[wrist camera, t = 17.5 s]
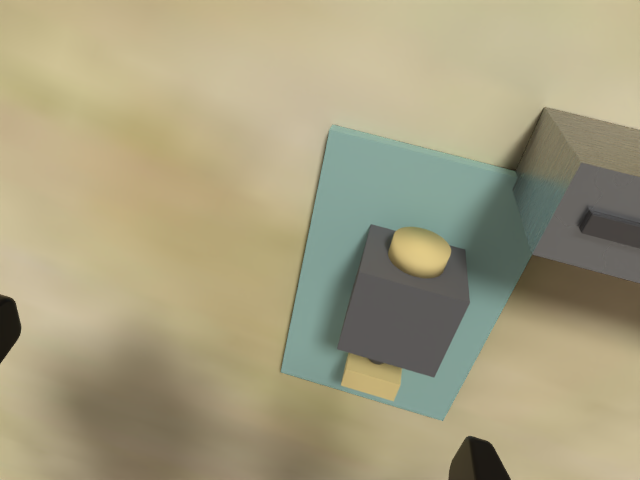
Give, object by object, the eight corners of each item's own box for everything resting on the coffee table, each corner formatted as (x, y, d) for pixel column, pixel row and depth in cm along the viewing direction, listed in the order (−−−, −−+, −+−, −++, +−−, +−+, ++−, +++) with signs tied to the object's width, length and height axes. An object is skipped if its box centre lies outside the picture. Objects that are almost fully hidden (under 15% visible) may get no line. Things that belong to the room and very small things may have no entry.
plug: (409, 376, 24) (405, 436, 21) (333, 354, 24) (319, 410, 21) (472, 233, 19) (478, 285, 16) (375, 207, 19) (364, 254, 16)
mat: (442, 411, 25) (442, 421, 25) (283, 364, 26) (280, 372, 26) (562, 183, 18) (566, 190, 17) (332, 124, 18) (329, 129, 18)
